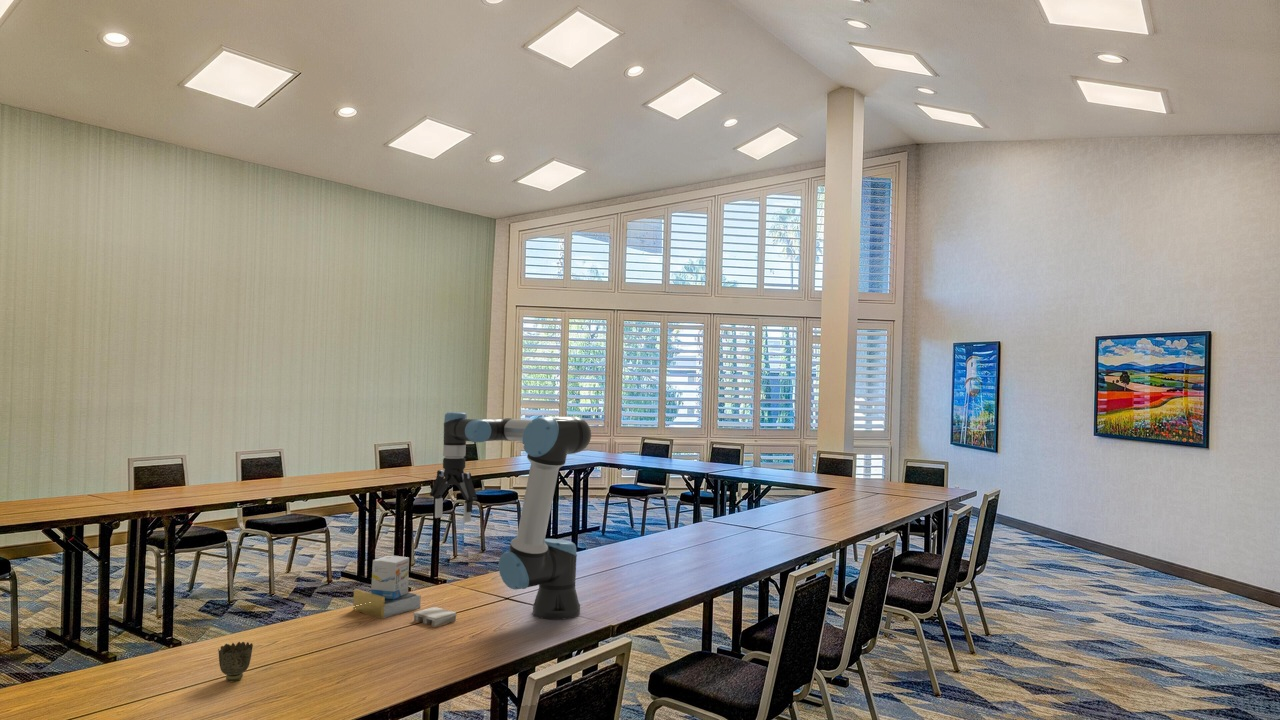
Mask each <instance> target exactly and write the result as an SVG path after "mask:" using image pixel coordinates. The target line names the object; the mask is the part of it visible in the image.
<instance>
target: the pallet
mask: <svg viewBox="0 0 1280 720" xmlns="http://www.w3.org/2000/svg"><path fill="white" fill-rule="evenodd" d="M413 617H414V618H413V621H414V622H421V621H422V624H424V625H429V624H431V627H435V628H436V627H439V626H443V625H447V624H450V623H452V622H455V621H457V612H456V611H452V610H448V609H445V608H441V607H437V606H432V607H428V608H425V609H424V608H423V609H420V610H418V611H414V612H413Z"/></svg>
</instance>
